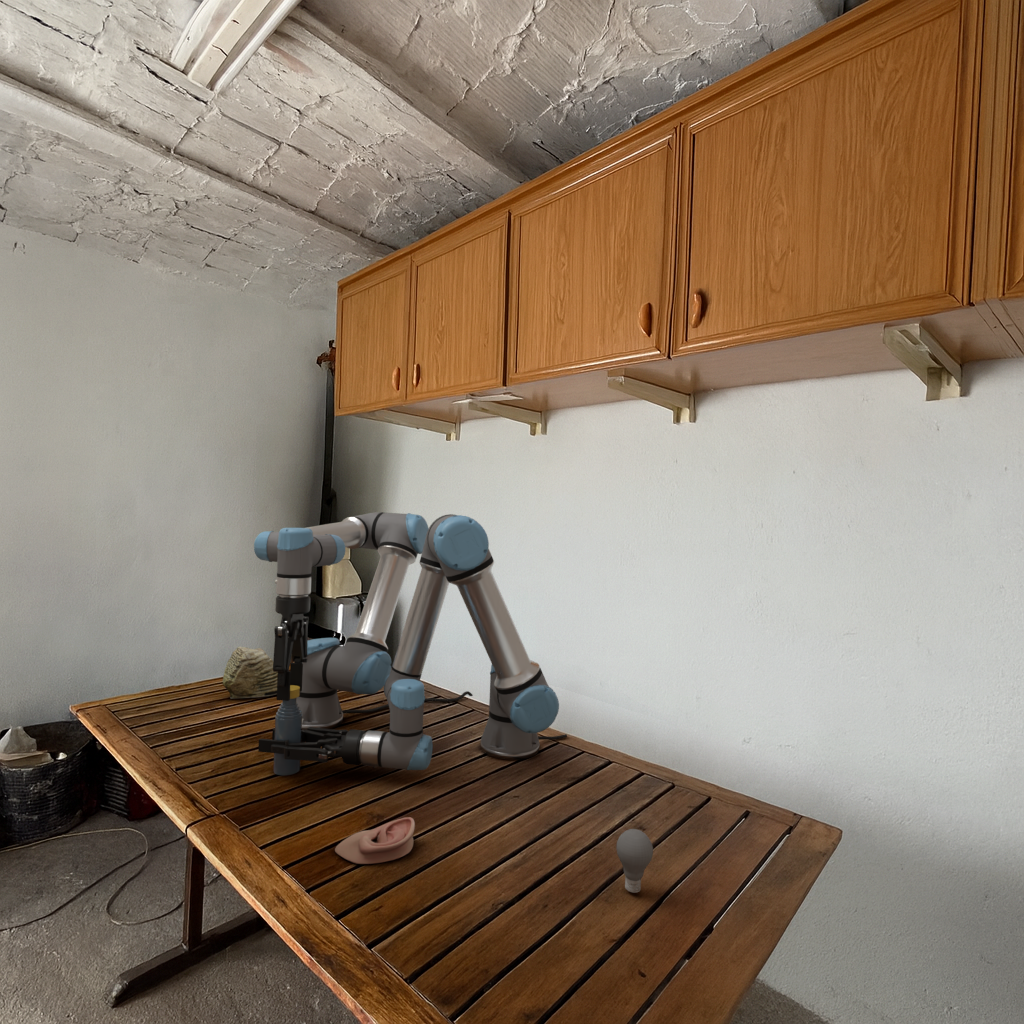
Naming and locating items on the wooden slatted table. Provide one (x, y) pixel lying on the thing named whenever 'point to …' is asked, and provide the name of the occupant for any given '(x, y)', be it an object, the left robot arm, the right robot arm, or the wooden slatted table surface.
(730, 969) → the wooden slatted table surface
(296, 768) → the bottle
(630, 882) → the light bulb
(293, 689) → the cap
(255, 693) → the fossil
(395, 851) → the anatomical model
